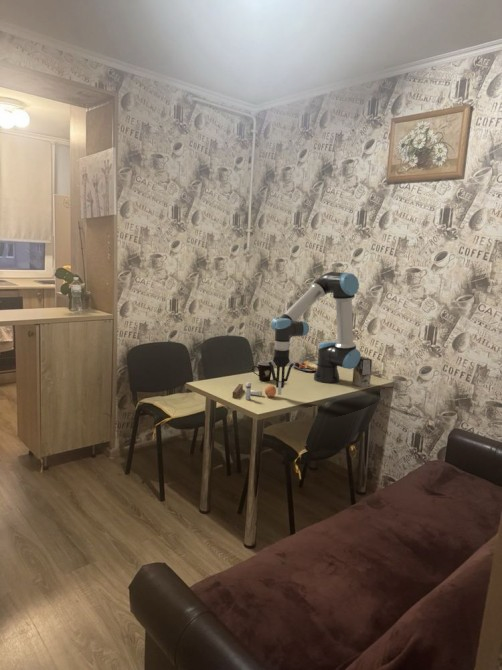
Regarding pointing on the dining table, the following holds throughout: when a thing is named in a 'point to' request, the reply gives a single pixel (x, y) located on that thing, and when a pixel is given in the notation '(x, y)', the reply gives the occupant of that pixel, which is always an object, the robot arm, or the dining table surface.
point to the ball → (270, 391)
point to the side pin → (248, 390)
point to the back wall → (237, 390)
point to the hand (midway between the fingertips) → (279, 393)
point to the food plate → (306, 365)
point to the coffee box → (362, 372)
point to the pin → (255, 393)
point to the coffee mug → (264, 371)
